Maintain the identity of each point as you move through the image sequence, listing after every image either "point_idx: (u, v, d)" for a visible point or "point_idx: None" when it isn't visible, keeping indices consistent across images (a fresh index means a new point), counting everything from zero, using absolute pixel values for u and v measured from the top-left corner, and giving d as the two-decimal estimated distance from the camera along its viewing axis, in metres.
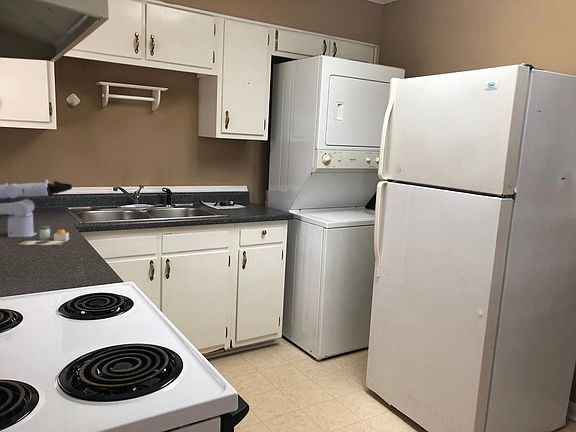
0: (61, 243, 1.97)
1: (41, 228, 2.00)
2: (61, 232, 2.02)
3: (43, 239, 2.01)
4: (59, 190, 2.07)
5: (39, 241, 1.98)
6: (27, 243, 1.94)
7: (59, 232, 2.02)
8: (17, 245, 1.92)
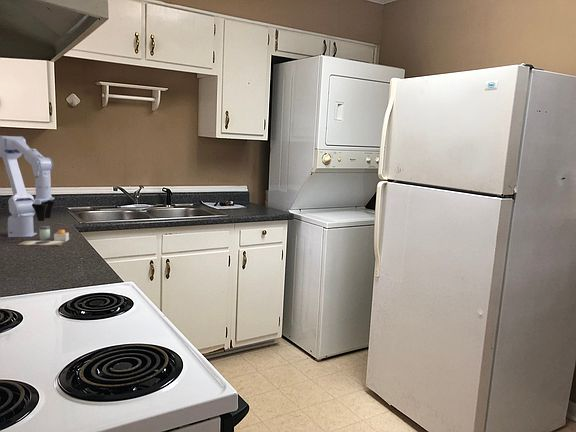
0: (61, 243, 1.97)
1: (41, 228, 2.00)
2: (61, 232, 2.02)
3: (43, 239, 2.01)
4: (38, 214, 1.97)
5: (39, 241, 1.98)
6: (27, 243, 1.94)
7: (59, 232, 2.02)
8: (17, 245, 1.92)
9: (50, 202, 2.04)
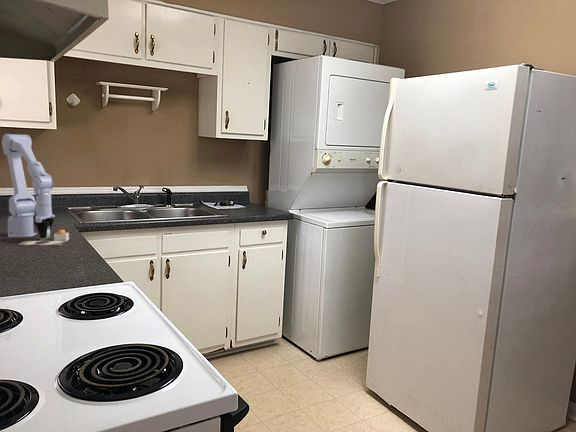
0: (61, 243, 1.97)
1: None
2: (61, 232, 2.02)
3: (43, 239, 2.01)
4: (40, 231, 1.99)
5: (39, 241, 1.98)
6: (27, 243, 1.94)
7: (59, 232, 2.02)
8: (17, 245, 1.92)
9: (49, 220, 2.04)
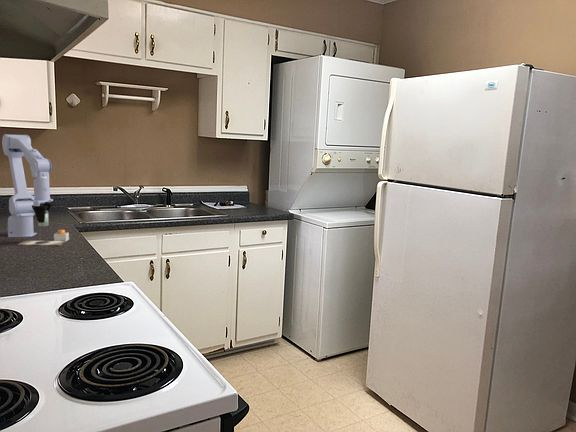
0: (61, 243, 1.97)
1: None
2: (61, 232, 2.02)
3: (41, 224, 1.96)
4: (38, 215, 1.95)
5: (39, 241, 1.98)
6: (27, 243, 1.94)
7: (59, 232, 2.02)
8: (17, 245, 1.92)
9: (47, 204, 1.99)
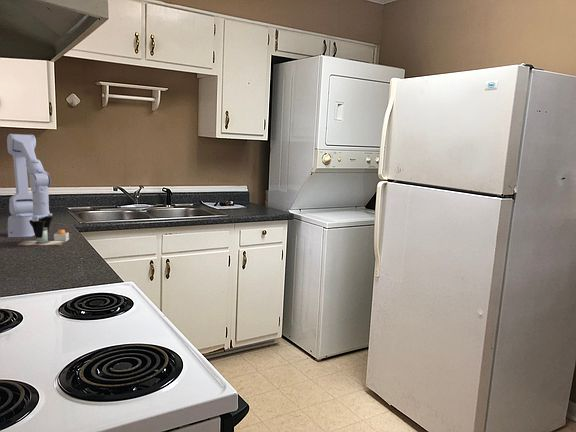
0: (61, 243, 1.97)
1: None
2: (61, 232, 2.02)
3: (40, 241, 1.95)
4: (36, 231, 1.92)
5: None
6: (27, 243, 1.94)
7: (59, 232, 2.02)
8: (17, 245, 1.92)
9: (48, 218, 1.99)
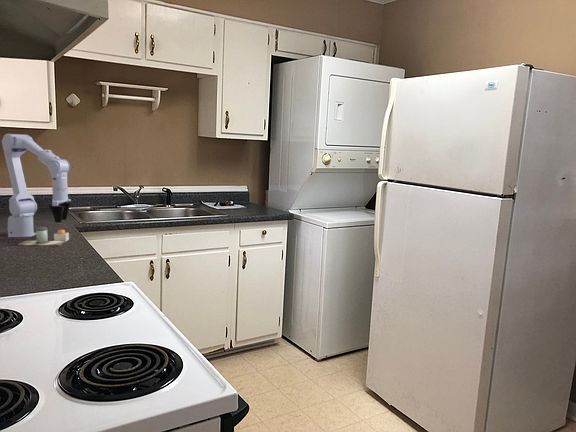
0: (61, 243, 1.97)
1: (38, 229, 1.94)
2: (61, 232, 2.02)
3: (40, 241, 1.95)
4: (55, 215, 1.98)
5: None
6: (27, 243, 1.94)
7: (59, 232, 2.02)
8: (17, 245, 1.92)
9: (66, 204, 2.06)
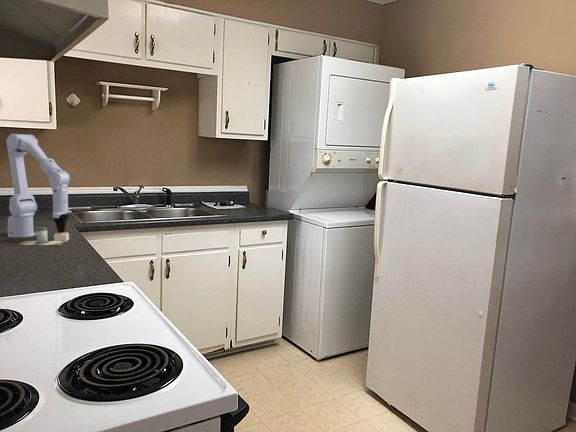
0: (61, 243, 1.97)
1: (37, 229, 1.94)
2: None
3: (40, 241, 1.95)
4: (58, 226, 2.02)
5: None
6: (27, 243, 1.94)
7: None
8: (17, 245, 1.92)
9: (64, 216, 2.03)
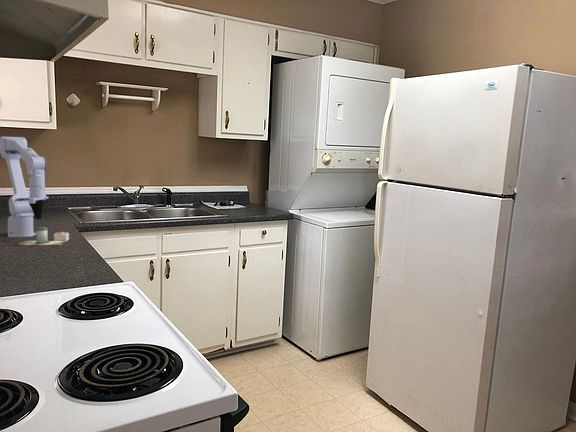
0: (61, 243, 1.97)
1: (38, 229, 1.94)
2: None
3: (40, 241, 1.95)
4: (35, 212, 1.99)
5: None
6: (27, 243, 1.94)
7: None
8: (17, 245, 1.92)
9: (41, 202, 2.00)
